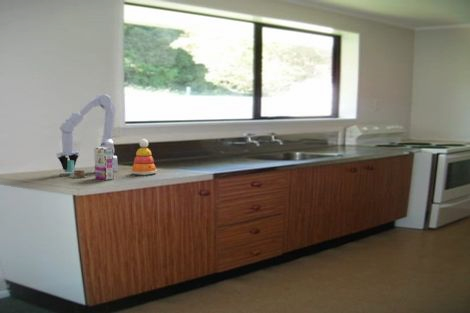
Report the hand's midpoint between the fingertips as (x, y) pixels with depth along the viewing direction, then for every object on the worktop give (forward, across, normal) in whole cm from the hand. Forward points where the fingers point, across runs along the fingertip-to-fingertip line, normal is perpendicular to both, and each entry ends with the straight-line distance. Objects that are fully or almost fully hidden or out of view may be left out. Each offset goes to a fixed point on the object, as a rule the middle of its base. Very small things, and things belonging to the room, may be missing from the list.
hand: (68, 168), depth 268 cm
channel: (+3, -3, -11) cm, 12 cm away
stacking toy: (+4, +19, -36) cm, 41 cm away
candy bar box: (+4, -3, -28) cm, 28 cm away
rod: (+4, -4, -10) cm, 11 cm away
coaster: (+3, 0, 0) cm, 3 cm away
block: (+1, 0, 0) cm, 1 cm away
